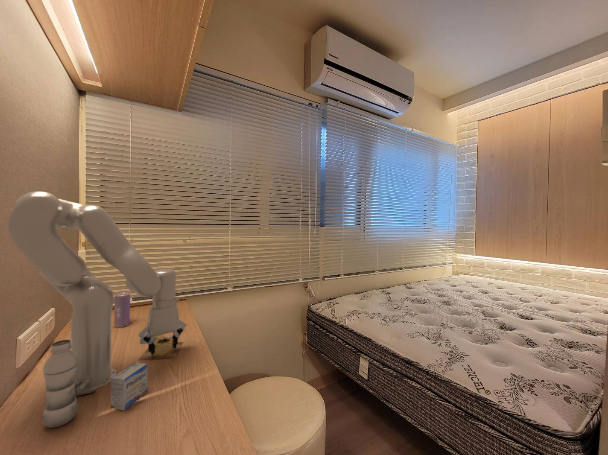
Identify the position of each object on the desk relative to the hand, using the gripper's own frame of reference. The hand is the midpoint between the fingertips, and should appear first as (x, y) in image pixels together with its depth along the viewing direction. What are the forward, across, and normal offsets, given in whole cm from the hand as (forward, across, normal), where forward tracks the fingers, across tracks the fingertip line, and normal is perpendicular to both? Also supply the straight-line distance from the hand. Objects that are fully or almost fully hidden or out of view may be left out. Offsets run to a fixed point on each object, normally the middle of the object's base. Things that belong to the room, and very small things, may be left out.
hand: (163, 349), depth 97 cm
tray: (+2, -4, -16) cm, 17 cm away
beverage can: (+3, +9, -41) cm, 42 cm away
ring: (+1, 0, -2) cm, 2 cm away
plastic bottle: (+3, +27, +19) cm, 33 cm away
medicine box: (+3, +13, +20) cm, 24 cm away
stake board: (+2, 0, -2) cm, 3 cm away
